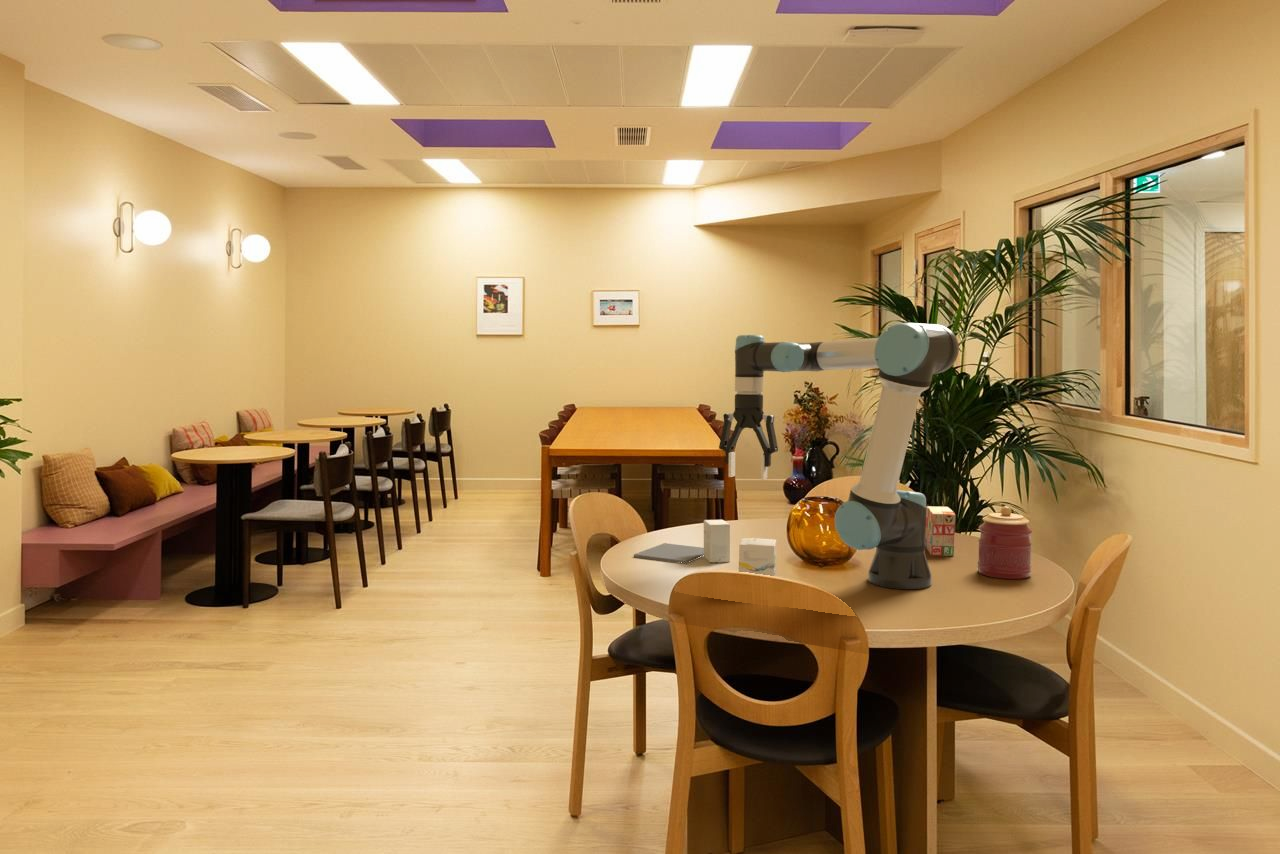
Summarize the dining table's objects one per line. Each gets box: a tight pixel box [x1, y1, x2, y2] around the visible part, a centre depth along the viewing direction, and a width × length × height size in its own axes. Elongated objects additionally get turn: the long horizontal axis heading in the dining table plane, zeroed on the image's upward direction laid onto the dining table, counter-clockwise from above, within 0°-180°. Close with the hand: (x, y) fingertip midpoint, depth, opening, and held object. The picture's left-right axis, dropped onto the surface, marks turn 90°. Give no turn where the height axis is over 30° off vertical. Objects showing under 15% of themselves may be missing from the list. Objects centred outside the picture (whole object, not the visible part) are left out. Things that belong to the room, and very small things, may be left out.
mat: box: [633, 542, 704, 564], centre depth 263 cm, size 16×18×1 cm
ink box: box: [738, 537, 777, 576], centre depth 225 cm, size 8×8×12 cm
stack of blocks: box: [925, 505, 957, 557], centre depth 273 cm, size 21×6×12 cm, turn 171°
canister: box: [976, 505, 1034, 580], centre depth 241 cm, size 13×13×18 cm
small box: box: [703, 519, 731, 563], centre depth 256 cm, size 8×6×10 cm
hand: (747, 477), depth 250 cm, fingers open, 9 cm apart
